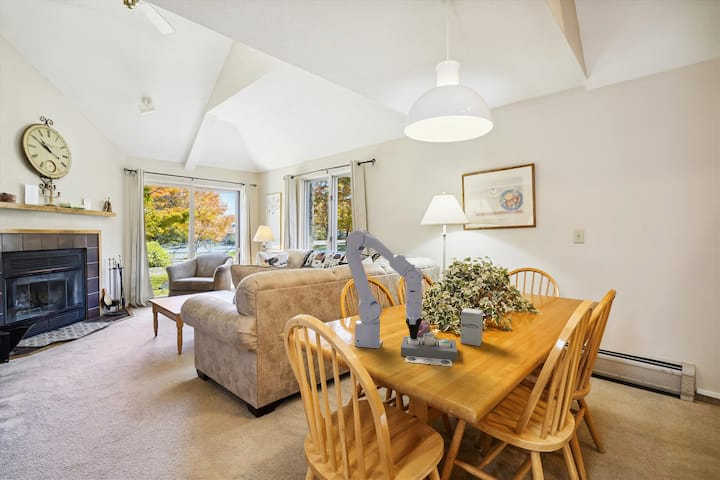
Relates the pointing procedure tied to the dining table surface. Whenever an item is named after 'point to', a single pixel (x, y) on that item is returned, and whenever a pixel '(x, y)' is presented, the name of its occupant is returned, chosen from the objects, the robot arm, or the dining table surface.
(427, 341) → the button middle
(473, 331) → the supplement box
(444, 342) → the button right
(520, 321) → the dining table surface
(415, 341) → the button left
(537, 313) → the dining table surface
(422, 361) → the card
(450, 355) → the button board
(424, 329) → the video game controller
